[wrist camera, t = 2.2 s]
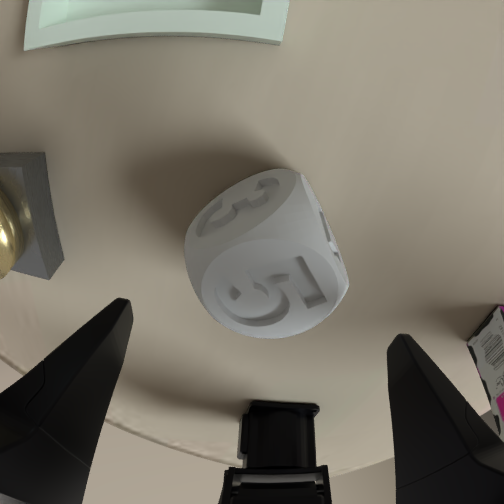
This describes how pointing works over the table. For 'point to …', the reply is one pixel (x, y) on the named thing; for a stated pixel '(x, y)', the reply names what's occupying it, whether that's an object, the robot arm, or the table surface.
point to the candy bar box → (491, 362)
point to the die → (265, 257)
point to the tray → (152, 20)
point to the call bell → (27, 217)
